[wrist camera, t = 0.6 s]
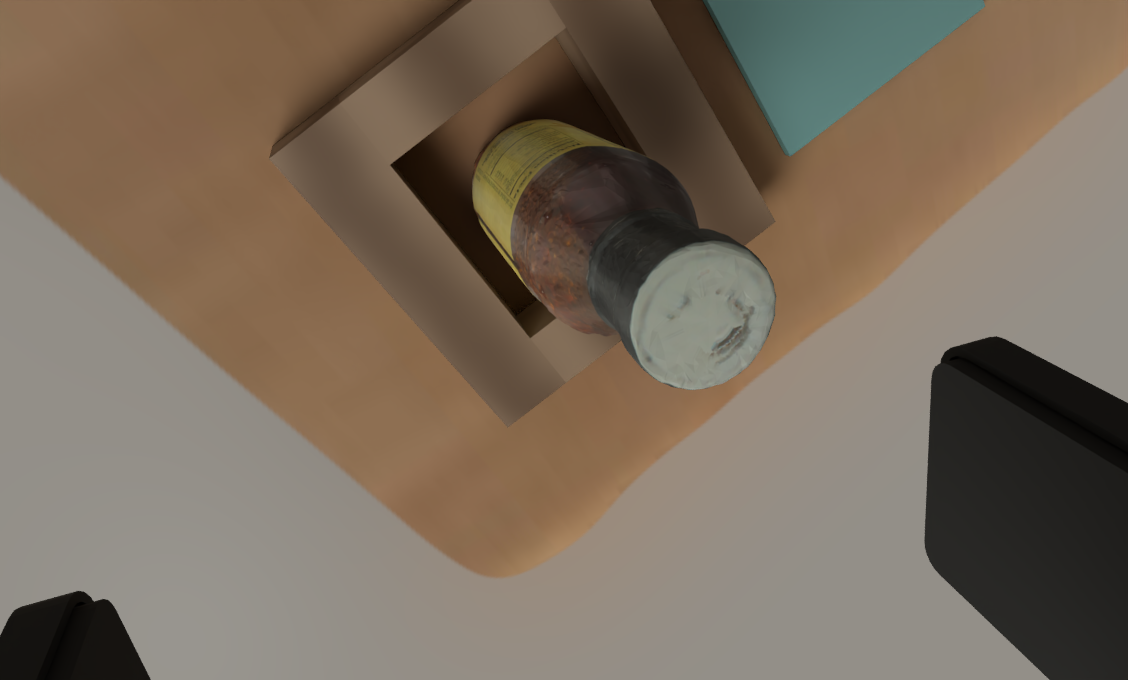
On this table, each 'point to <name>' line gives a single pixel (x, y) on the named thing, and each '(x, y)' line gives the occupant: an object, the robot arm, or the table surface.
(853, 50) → the teal mat
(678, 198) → the sauce bottle
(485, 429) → the table surface
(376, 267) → the pocket block
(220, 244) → the table surface
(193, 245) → the table surface
